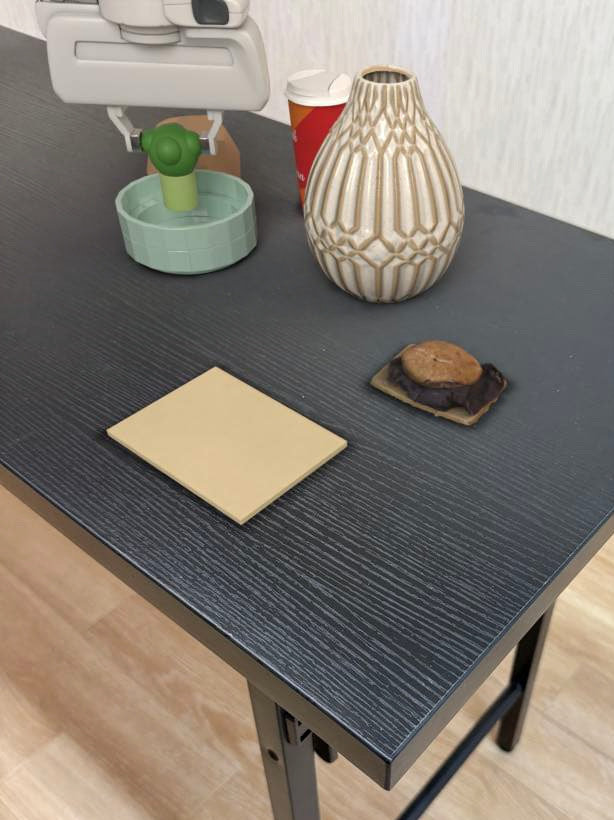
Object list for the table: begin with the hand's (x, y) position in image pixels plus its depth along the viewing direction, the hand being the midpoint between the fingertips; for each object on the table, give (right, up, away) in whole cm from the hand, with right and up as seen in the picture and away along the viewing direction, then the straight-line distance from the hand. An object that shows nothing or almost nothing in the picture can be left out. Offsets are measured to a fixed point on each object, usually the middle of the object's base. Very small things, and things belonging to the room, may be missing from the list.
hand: (174, 151), depth 82 cm
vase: (+21, -12, +4) cm, 25 cm away
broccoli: (0, -4, +4) cm, 5 cm away
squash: (-3, +5, +19) cm, 20 cm away
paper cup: (+14, 0, +15) cm, 20 cm away
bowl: (0, -7, +7) cm, 10 cm away
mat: (+9, -31, -15) cm, 35 cm away
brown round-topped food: (+27, -25, -8) cm, 38 cm away
